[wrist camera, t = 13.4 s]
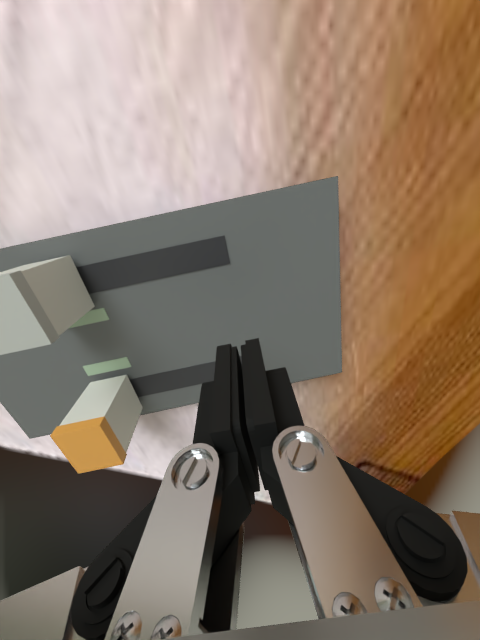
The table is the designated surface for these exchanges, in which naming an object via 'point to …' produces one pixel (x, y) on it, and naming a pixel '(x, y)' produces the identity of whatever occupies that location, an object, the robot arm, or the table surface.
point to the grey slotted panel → (187, 301)
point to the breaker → (40, 303)
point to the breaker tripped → (99, 425)
